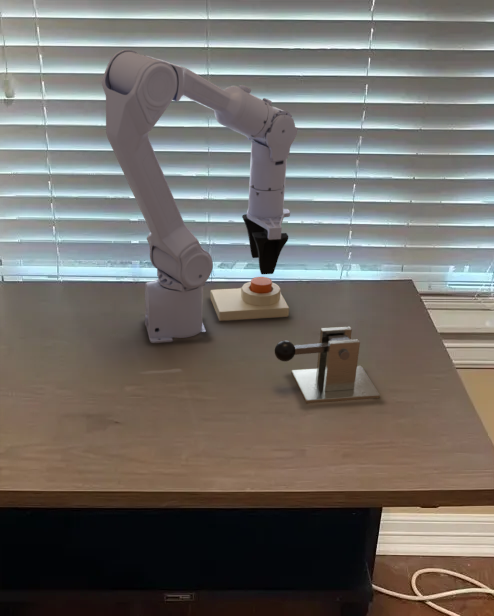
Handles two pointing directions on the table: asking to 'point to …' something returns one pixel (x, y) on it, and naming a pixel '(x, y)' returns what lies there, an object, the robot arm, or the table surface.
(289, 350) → the lever
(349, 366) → the bracket
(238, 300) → the control block
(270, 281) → the button
